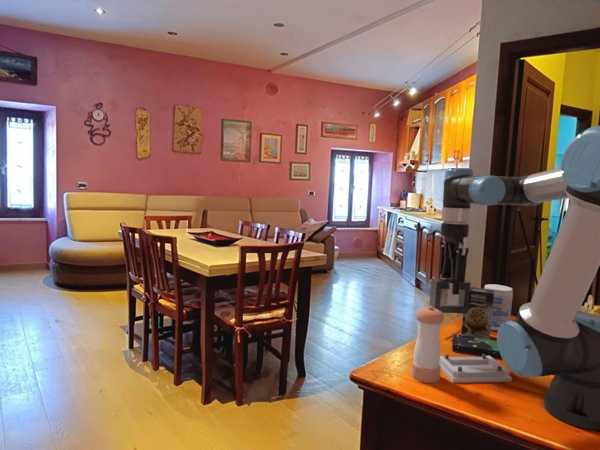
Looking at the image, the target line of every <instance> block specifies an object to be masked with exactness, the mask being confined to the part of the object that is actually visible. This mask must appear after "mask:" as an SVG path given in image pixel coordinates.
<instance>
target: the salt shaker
mask: <svg viewBox="0 0 600 450" xmlns="http://www.w3.org/2000/svg"><path fill="white" fill-rule="evenodd" d="M415 317H416V320H417V322H418V326H417V337H416V342H415V346H414V349H413V360H412V363H411V377H412V378H413V379H415V380H416V381H418V382H422V383H427V384H429V383H430V384H434V383H437V382H439V381H440V380H441V366H440V364H439V362H440V356H441V344H440V332H441V331H440V330H441V324H442V323H443V322H444V320H445V316H444V313H442V312H441V311H439V310H437V309H435V308H433V306H429V305H428V306H426V307H421V308H419V309H418V310H417V311H416V314H415Z"/></svg>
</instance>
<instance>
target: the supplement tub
mask: <svg viewBox="0 0 600 450" xmlns="http://www.w3.org/2000/svg"><path fill="white" fill-rule="evenodd" d="M483 289H489V290H494V299H493V309H492V319H491V329H490V331H496V332H498V330H499V327H500V326H501V325H502V324H503V323H506V322H507V321H511V317H512V316H511V314H512V305H513V304H512V303H513V297H514V296H513V295H514V291H513V290H514V289H513V288H512V287H509V286H507V285H502V284H494V283H493V284H492V283H491V284H488V283H487V284H485V285H484V287H483Z"/></svg>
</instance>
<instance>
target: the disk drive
mask: <svg viewBox="0 0 600 450" xmlns="http://www.w3.org/2000/svg"><path fill="white" fill-rule="evenodd" d="M451 341H452V345H451V348H452V350H451V352H455V353H461V354H468V355H476V356H479V357H482V354H485V355H486V356H491V357H492V358H493V359H501V360H503V359H502V357H501V355H500V351H499V349H498V344H497V339H492V338H491V339H485V338H478V337H471V336H464V335H461V334H455V333H453V334H452V340H451Z"/></svg>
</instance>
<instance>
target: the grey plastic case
mask: <svg viewBox="0 0 600 450" xmlns="http://www.w3.org/2000/svg"><path fill="white" fill-rule="evenodd" d="M449 281H451V279H442V278H431V281H430V282H431V283H430V294H429V295H430V296H429V305H428V306H433V308H435V309H437V310H439V311H441V312H442V313H443V314H463V313H468V306H469V295H470V287H471V282H470V281H468V280H466V279H465V282H462V283H460V289H459V302H458V305H448V298H449V285H450V283H449Z"/></svg>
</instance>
